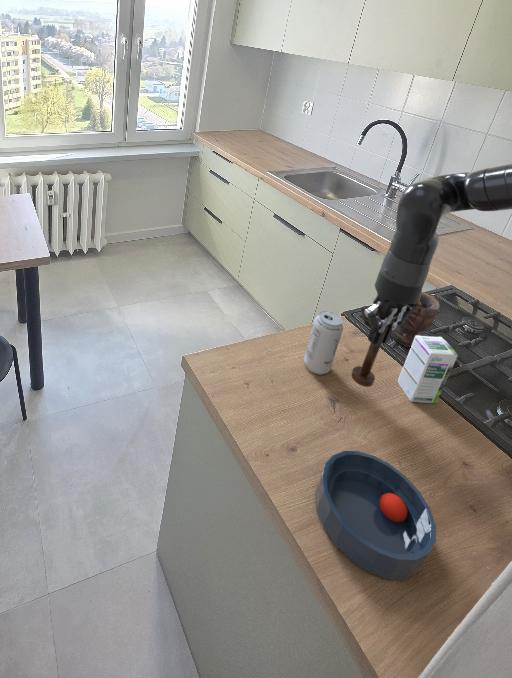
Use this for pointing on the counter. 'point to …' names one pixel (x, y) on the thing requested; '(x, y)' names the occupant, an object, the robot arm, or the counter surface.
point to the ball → (393, 507)
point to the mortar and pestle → (417, 320)
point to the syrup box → (427, 368)
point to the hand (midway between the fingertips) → (377, 341)
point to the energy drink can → (323, 342)
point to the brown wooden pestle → (367, 365)
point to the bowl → (374, 515)
